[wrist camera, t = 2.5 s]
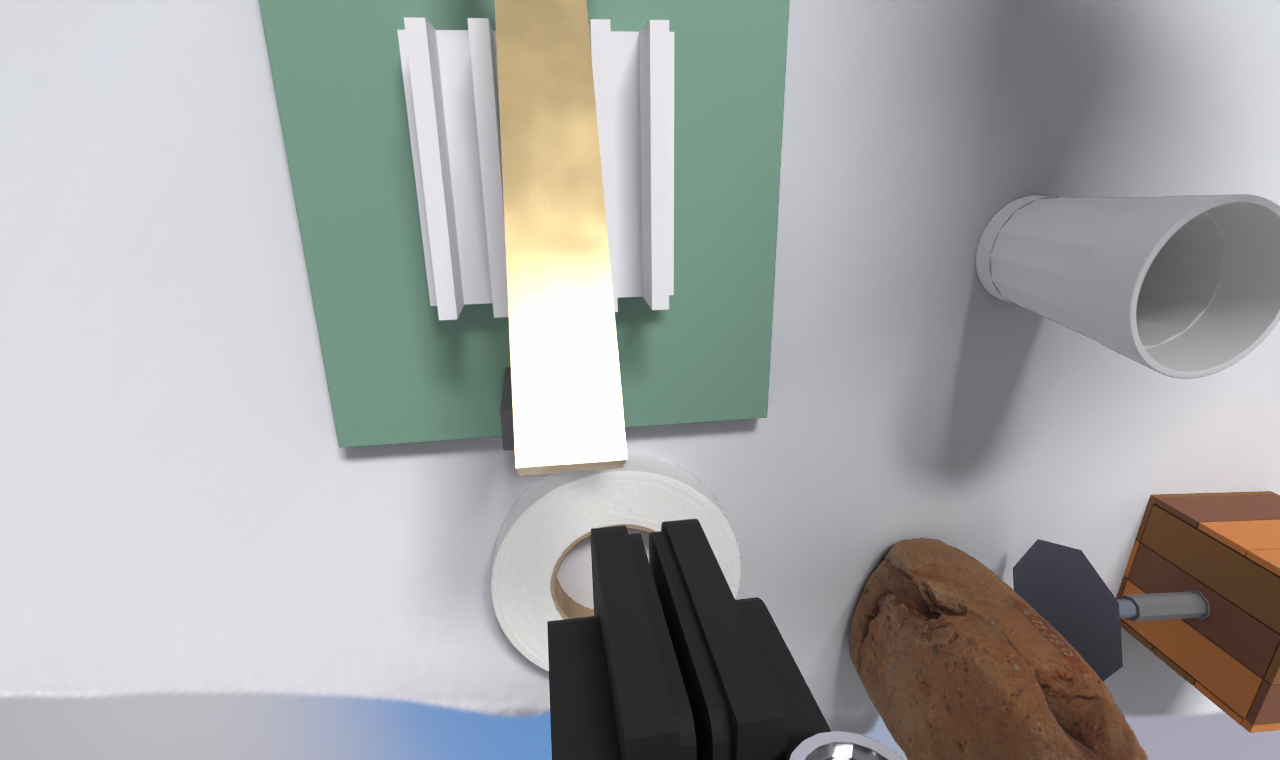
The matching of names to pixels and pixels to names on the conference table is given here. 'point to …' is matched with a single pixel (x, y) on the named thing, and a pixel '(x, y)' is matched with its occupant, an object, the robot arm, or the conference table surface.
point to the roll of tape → (566, 516)
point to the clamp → (1180, 598)
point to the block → (976, 667)
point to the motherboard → (474, 207)
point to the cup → (1143, 273)
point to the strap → (556, 243)
